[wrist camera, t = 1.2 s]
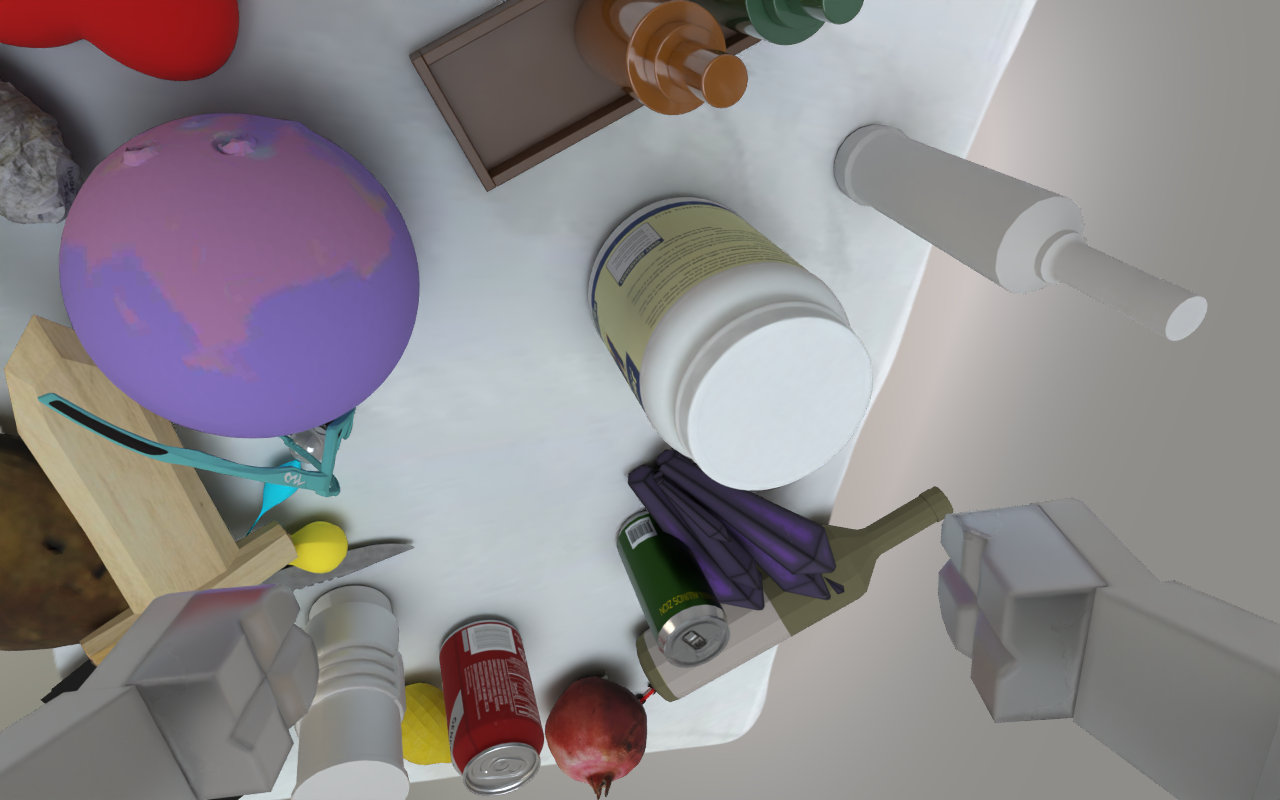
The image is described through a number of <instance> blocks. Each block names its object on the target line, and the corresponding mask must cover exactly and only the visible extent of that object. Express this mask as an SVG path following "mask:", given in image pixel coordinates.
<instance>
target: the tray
mask: <svg viewBox="0 0 1280 800" xmlns="http://www.w3.org/2000/svg"><path fill="white" fill-rule="evenodd" d="M583 1H584V0H508V1H506V2H504V3H503V4H501V5H499V6H497V7H495V8H493V9H492V10H490V11H488V12H486V13H484V14H482V15H481V16H479V17H477V18H475V19H473V20H472V21H470V22H468V23H466V24H464V25H462V26H461V27H459V28H457V29H455V30H453V31H452V32H450V33H448V34H446V35H444V36H442V37H441V38H439V39H437V40H435V41H433V42H431V43H430V44H428V45H426V46H424V47H422V48H421V49H419V50H417V51H415V52H413V53H411V54H410V55H409V56H410V59H411V61H412V63H413V65H414V67H415V68H416V70H417V72H418V74H419V75H420V77H421V79H422V81H423V82H424V84H425V86H426V87H427V89H428V91H429V93H430V94H431V96H432V98H433V100H434V101H435V103H436V105H437V106H438V108H439V110H440V112H441V113H442V115H443V117H444V119H445V120H446V122H447V124H448V125H449V127H450V129H451V131H452V132H453V134H454V136H455V137H456V139H457V141H458V143H459V144H460V146H461V148H462V150H463V151H464V153H465V155H466V156H467V158H468V160H469V162H470V163H471V165H472V167H473V169H474V170H475V172H476V174H477V175H478V177H479V179H480V181H481V182H482V184H483V186H484V188H485V189H486V191H487V192H488V191H490V190H492V189H494V188H495V187H496V186H499V185H501V184H503V183H505V182H506V181H508V180H510V179H512V178H514V177H515V176H517V175H519V174H521V173H523V172H524V171H526V170H528V169H530V168H532V167H533V166H535V165H537V164H539V163H541V162H542V161H544V160H546V159H548V158H550V157H552V156H553V155H555V154H557V153H559V152H561V151H562V150H564V149H566V148H568V147H570V146H571V145H573V144H575V143H577V142H579V141H580V140H582V139H584V138H586V137H588V136H589V135H591V134H593V133H595V132H597V131H599V130H600V129H602V128H604V127H606V126H608V125H609V124H611V123H613V122H615V121H617V120H618V119H620V118H622V117H624V116H626V115H627V114H629V113H631V112H633V111H635V110H636V109H638V108H640V107H642V106H644V104H642V103H641V102H639V101H638V100H636V99H635V98H633V97H632V96H630V95H629V94H627V93H626V92H624V91H623V90H621V89H620V88H618V87H617V86H615V85H614V84H612V83H611V82H609V81H608V80H606V79H605V78H603V77H602V76H600V75H599V74H597V73H596V72H594V71H593V70H592V69H590V68H589V67H588V66H587V65H586V64H585V62H584V61H583V59H582V58H581V56H580V54H579V52H578V49H577V46H576V42H575V35H574V27H575V20H576V16H577V13H578V10H579V8H580V6H581V4H582V3H583ZM720 27H721V26H720ZM721 30H722V32H723V35H724V39H725V44H726V53H729V54H732V55H736V54H738V53H740V52H741V51H743V50H745V49H747V48H749V47H750V46H752V45H754V44H756V43H758V42H759V41H761V40H762V39H759V38H756V37H752V36H749V35H746V34H743V33H740V32H737V31H734V30H730V29H727V28H724V27H721Z"/></svg>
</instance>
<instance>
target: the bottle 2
mask: <svg viewBox="0 0 1280 800" xmlns="http://www.w3.org/2000/svg"><path fill="white" fill-rule="evenodd" d="M834 176H835V179H836V181H837V183H838V185H839V187H840V189H841V191H842V192H843V193H844V194H846V195H847V196H848V197H849V198H851V199H852V200H853V201H855V202H856V203H858V204H859V205H864V206H871V207H873V208H874V209H876V210H878V211H879V212H881V213H883V214H884V215H886V216H887V217H889V218H891V219H892V220H894V221H896V222H897V223H899V224H900V225H902V226H904V227H905V228H907V229H908V230H910V231H912V232H913V233H915V234H917V235H918V236H920V237H921V238H923V239H925V240H926V241H928V242H930V243H931V244H933V245H934V246H936V247H938V248H939V249H941V250H943V251H944V252H946V253H947V254H949V255H951V256H952V257H954V258H955V259H957V260H959V261H960V262H962V263H963V264H965V265H967V266H968V267H970V268H972V269H973V270H975V271H976V272H978V273H980V274H981V275H983V276H985V277H986V278H988V279H990V280H991V281H993V282H994V283H996V284H997V285H999V286H1001V287H1002V288H1004V289H1006V290H1007V291H1009V292H1011V293H1019V294H1027V293H1030V292H1033V291H1036V290H1040V289H1042V288H1044V287H1045V286H1047V285H1048V284H1058V283H1062V282H1063V283H1065V284H1067V285H1069V286H1071V287H1073V288H1074V289H1076V290H1078V291H1080V292H1082V293H1084V294H1086V295H1088V296H1090V297H1092V298H1094V299H1096V300H1098V301H1099V302H1102V303H1103V304H1105V305H1107V306H1109V307H1111V308H1113V309H1115V310H1117V311H1119V312H1121V313H1123V314H1125V315H1126V316H1128V317H1130V318H1131V319H1133V320H1134V321H1135V322H1137V323H1139V324H1141V325H1143V326H1145V327H1147V328H1148V329H1150V330H1152V331H1154V332H1156V333H1158V334H1160V335H1162V336H1164V337H1165V338H1167V339H1169V340H1175V341H1176V340H1180V339H1183V338H1185V337H1187V336H1188V335H1189V334H1191V333H1192V332H1193V331H1194V330H1195V329H1196V328H1197V327H1198V326H1199V325H1200V323H1201V322H1202V320H1203V318H1204V317H1205V314H1206V311H1207V301H1206V300H1205V299H1204V298H1203V297H1202V296H1200V295H1197V294H1195V293H1193V292H1191V291H1189V290H1186V289H1184V288H1182V287H1180V286H1178V285H1175V284H1173V283H1171V282H1169V281H1167V280H1164V279H1159V278H1157V277H1155V276H1153V275H1150V274H1148V273H1146V272H1144V271H1142V270H1139V269H1137V268H1135V267H1133V266H1131V265H1129V264H1127V263H1124V262H1122V261H1120V260H1118V259H1116V258H1114V257H1111V256H1109V255H1107V254H1105V253H1103V252H1101V251H1098V250H1096V249H1094V248H1092V247H1090V246H1088V244H1087V240H1086V238H1085V237H1084V236H1083V229H1084V221H1083V216H1082V212H1081V208H1080V207H1079V206H1078V205H1077V204H1076V203H1075V202H1074V201H1073V200H1072V199H1070V198H1067V197H1065V196H1062V195H1059V194H1056V193H1054V192H1051V191H1048V190H1046V189H1043V188H1040V187H1038V186H1035V185H1032V184H1029V183H1027V182H1024V181H1021V180H1019V179H1016V178H1014V177H1011V176H1008V175H1005V174H1003V173H1000V172H997V171H995V170H992V169H989V168H987V167H984V166H981V165H978V164H976V163H973V162H971V161H968V160H965V159H962V158H960V157H957V156H954V155H952V154H949V153H946V152H944V151H941V150H938V149H936V148H933V147H930V146H927V145H925V144H922V143H919V142H917V141H914V140H911V139H909V138H908V137H907V136H906V135H905V134H904V133H903V132H902V131H900V130H899V129H896V128H892V127H888V126H882V125H876V124H875V125H870V126H866V127H862V128H859V129H858V130H856V131H855V132H854V133H852V134H851V135H849V136H848V137H847V138H846V140H845V141H844V143H843V144H842V145H841V147H840V148H839V150H838V153H837V156H836V159H835V162H834Z"/></svg>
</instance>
